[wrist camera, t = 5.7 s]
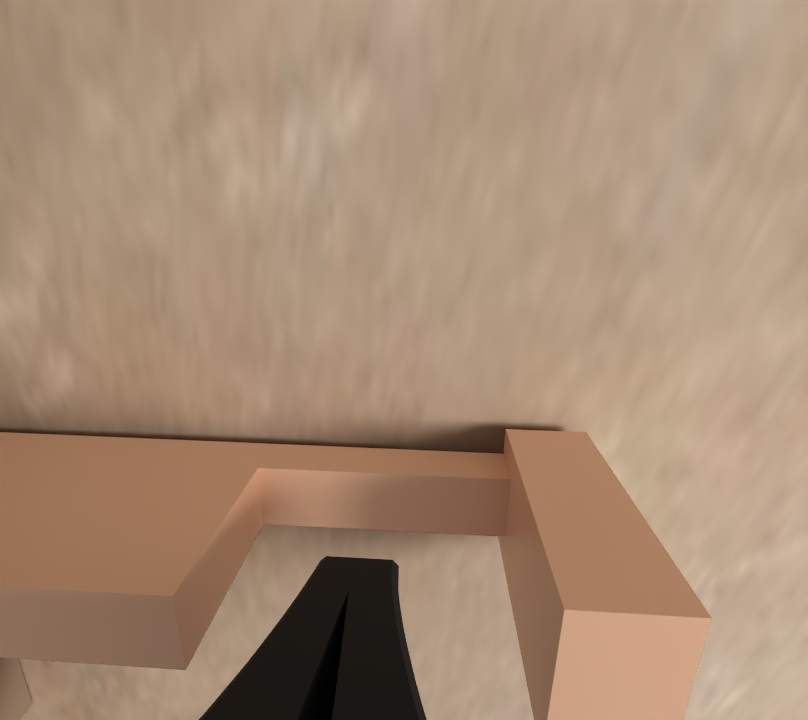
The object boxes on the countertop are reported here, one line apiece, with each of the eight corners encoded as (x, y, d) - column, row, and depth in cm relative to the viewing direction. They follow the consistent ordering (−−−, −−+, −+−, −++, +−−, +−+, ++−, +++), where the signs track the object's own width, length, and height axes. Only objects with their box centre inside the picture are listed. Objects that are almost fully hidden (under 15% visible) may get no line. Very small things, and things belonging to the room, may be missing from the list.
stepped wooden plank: (570, 532, 13) (669, 766, 7) (-221, 492, 14) (-624, 669, 9) (586, 432, 12) (711, 618, 6) (-265, 398, 13) (-750, 533, 8)
